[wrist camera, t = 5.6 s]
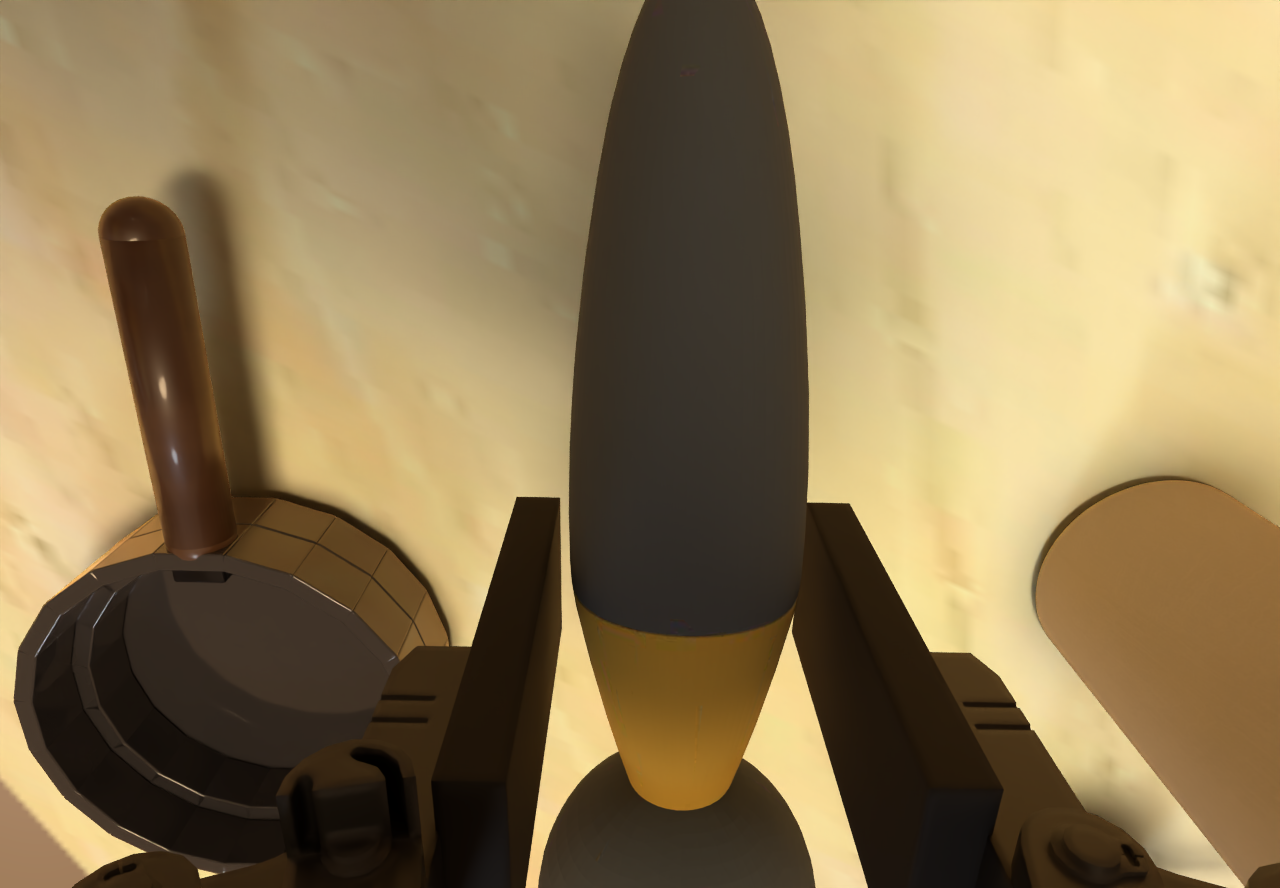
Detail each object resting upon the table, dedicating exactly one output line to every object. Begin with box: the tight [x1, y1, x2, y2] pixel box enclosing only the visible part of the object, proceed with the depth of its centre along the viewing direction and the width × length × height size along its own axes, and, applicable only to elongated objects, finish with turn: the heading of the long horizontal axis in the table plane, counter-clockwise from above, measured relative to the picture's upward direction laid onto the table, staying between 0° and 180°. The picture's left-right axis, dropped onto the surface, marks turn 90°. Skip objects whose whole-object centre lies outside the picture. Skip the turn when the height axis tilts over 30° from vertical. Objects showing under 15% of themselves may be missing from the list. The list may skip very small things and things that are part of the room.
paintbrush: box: [538, 0, 815, 888], centre depth 13 cm, size 20×5×5 cm, turn 4°
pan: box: [14, 497, 449, 874], centre depth 29 cm, size 13×13×4 cm
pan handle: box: [98, 196, 237, 583], centre depth 24 cm, size 11×2×2 cm, turn 178°
